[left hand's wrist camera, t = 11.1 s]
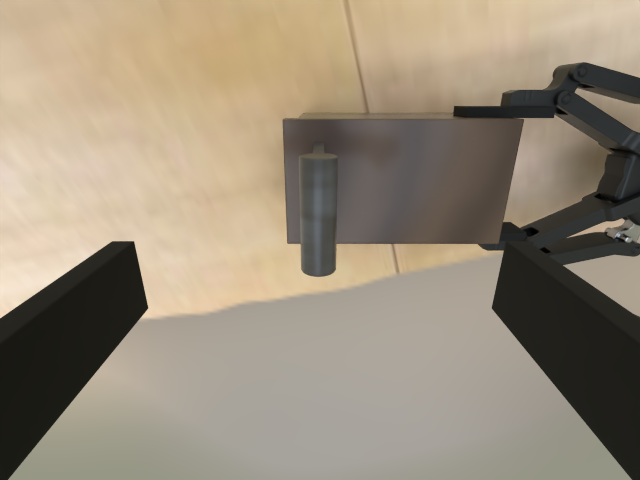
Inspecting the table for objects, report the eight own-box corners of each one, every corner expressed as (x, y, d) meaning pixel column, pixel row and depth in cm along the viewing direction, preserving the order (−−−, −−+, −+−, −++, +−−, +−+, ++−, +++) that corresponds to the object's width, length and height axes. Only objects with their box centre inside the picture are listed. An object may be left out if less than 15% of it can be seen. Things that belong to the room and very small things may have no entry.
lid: (288, 238, 28) (274, 299, 20) (284, 118, 25) (264, 128, 16) (491, 238, 28) (566, 299, 20) (515, 118, 25) (618, 128, 16)
